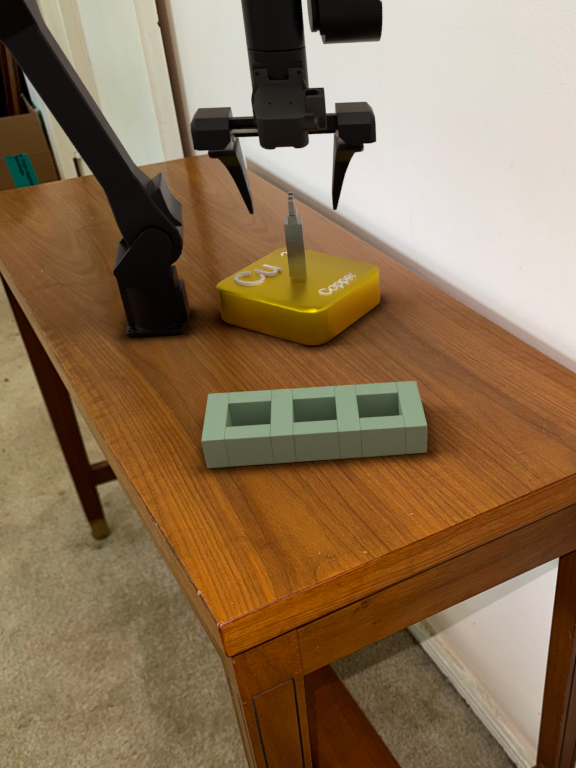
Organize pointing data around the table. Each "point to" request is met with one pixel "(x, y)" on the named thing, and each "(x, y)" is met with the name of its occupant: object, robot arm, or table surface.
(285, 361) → the table surface
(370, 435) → the rack
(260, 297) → the element tile
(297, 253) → the flat stepped stick
